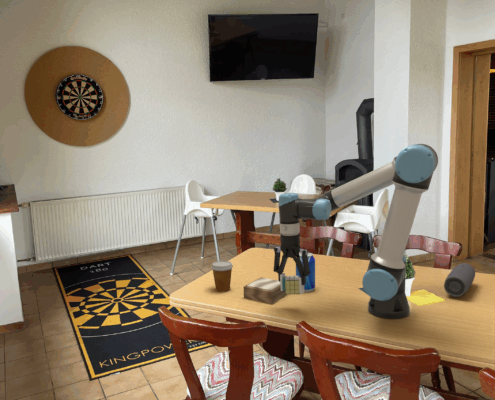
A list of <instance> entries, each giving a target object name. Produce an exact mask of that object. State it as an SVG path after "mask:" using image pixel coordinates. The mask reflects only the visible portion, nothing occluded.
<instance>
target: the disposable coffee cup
mask: <svg viewBox="0 0 495 400" xmlns="http://www.w3.org/2000/svg"><path fill="white" fill-rule="evenodd" d="M210 267H211V269H212V275H213V281H214V287H215V290H216V292H218V293H224V292H228V291H230V290H231V281H232V272H233V268H234V267H233V263H232V262H231V261H228V260H217V261H214V262H212V265H211V266H210Z"/></svg>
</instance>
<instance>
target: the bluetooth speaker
mask: <svg viewBox="0 0 495 400" xmlns="http://www.w3.org/2000/svg"><path fill="white" fill-rule="evenodd" d="M475 277H476V270H475V269H474V267H473V266H472V265H471V264H469V263H466V262H462V263H459V264H457V265H456V266H455V267H454V268H453V269H452V270H450V272H449V274H448V275H447V277H446V278H445V280H444V283H443V288H444V291H445V292H446V293H447V294H448V295H449V296H451V297H454V298H455V297H456V298H457V297H462V296H463V295H465V293H467V291H469V289H470V288H471V287H472V285H473V283H474V280H475Z"/></svg>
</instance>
